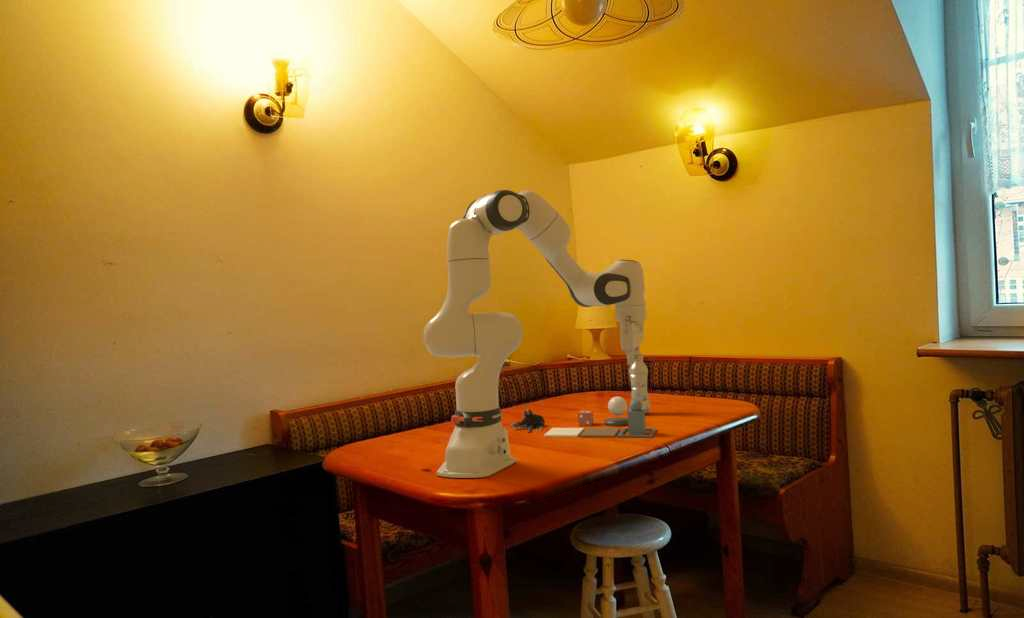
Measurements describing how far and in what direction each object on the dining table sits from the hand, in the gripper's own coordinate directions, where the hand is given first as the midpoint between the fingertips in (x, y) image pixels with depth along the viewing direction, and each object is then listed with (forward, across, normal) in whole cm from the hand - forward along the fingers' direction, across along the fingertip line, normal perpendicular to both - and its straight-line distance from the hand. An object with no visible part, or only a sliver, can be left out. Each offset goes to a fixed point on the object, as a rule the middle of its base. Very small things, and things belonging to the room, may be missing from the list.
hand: (633, 362), depth 209 cm
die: (+21, +13, +18) cm, 31 cm away
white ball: (+19, +15, +8) cm, 25 cm away
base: (+21, +15, +8) cm, 27 cm away
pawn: (+21, 0, 0) cm, 21 cm away
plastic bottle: (+21, +30, +3) cm, 37 cm away
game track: (+21, 0, +11) cm, 24 cm away
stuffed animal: (+22, +8, +36) cm, 43 cm away
